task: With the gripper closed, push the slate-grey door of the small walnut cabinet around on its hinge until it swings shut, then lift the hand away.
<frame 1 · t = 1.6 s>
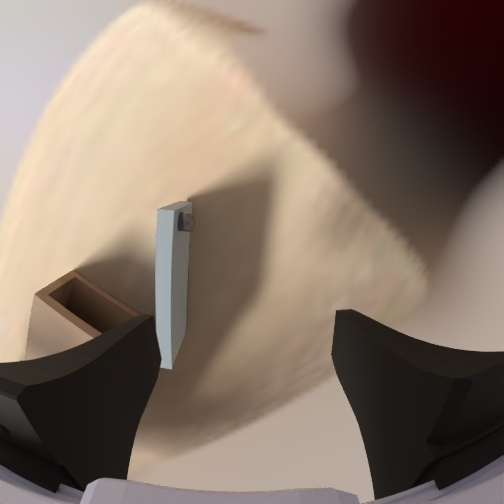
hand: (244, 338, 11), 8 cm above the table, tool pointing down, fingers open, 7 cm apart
cabinet: (103, 343, 20), on the table
door: (179, 283, 16), point 3 cm above the table, hinge at -65.0°
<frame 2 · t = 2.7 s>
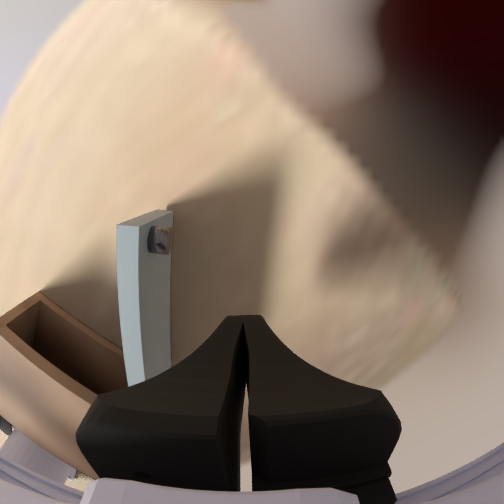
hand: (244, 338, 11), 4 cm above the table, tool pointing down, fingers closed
cabinet: (79, 375, 16), on the table
door: (156, 318, 12), point 3 cm above the table, hinge at -65.0°
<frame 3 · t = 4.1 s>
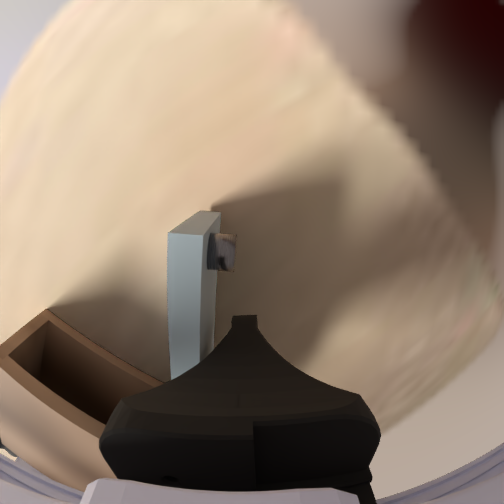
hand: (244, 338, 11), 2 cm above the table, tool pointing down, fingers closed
sundae: (3, 435, 15), on the table, touching arm
cabinet: (97, 403, 14), on the table
door: (207, 348, 10), point 3 cm above the table, hinge at -64.0°, touching gripper
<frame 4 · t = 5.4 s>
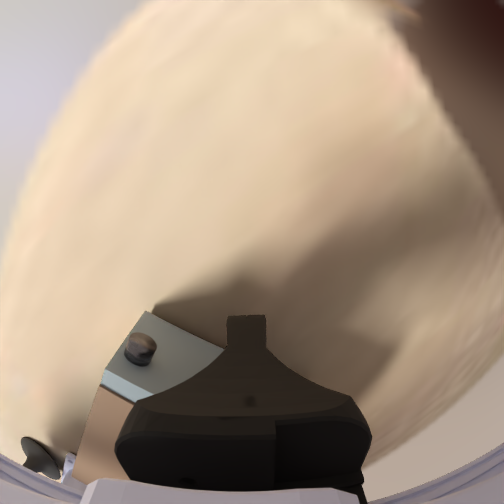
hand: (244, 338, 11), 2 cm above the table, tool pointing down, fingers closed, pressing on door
sundae: (41, 457, 15), on the table, touching arm
cabinet: (187, 417, 14), on the table
door: (232, 385, 10), point 3 cm above the table, hinge at 2.6°, touching cabinet, gripper
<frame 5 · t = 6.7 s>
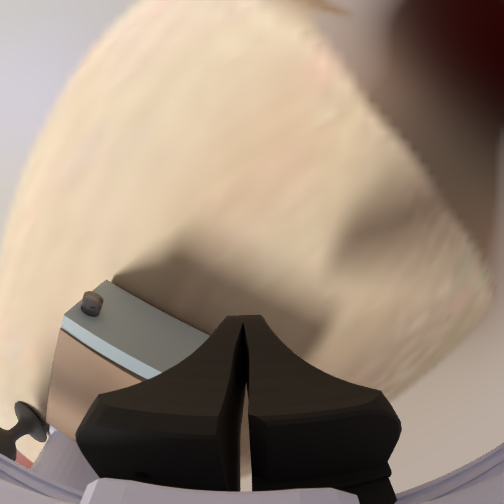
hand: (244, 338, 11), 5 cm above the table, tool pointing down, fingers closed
sundae: (31, 421, 19), on the table, touching arm
cabinet: (144, 376, 17), on the table
door: (162, 339, 13), point 3 cm above the table, hinge at 2.5°
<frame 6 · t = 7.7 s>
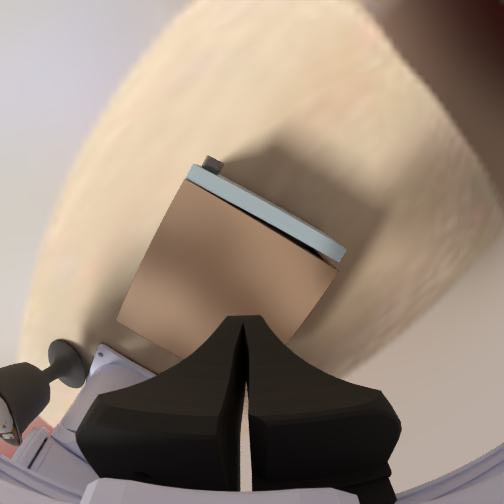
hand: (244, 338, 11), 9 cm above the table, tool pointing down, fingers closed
sundae: (67, 363, 22), on the table, touching arm
cabinet: (225, 270, 20), on the table
door: (269, 203, 16), point 3 cm above the table, hinge at 2.5°
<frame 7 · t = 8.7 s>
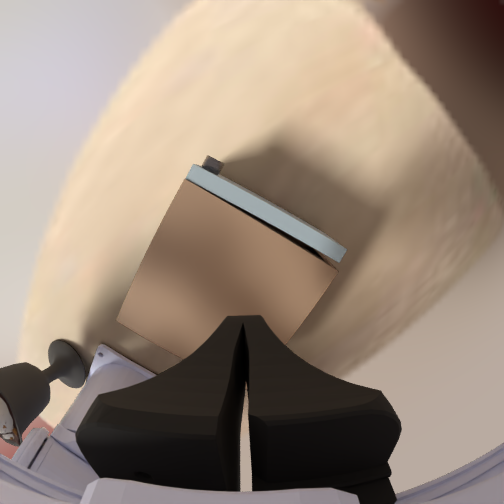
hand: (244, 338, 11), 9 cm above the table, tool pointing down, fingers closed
sundae: (67, 363, 22), on the table, touching arm
cabinet: (225, 270, 20), on the table
door: (269, 203, 16), point 3 cm above the table, hinge at 2.5°
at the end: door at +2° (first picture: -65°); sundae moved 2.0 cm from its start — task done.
